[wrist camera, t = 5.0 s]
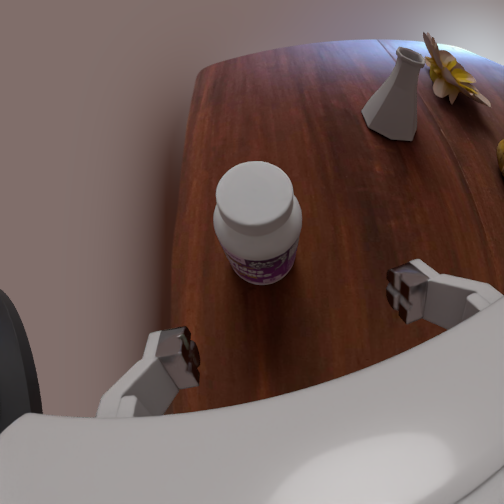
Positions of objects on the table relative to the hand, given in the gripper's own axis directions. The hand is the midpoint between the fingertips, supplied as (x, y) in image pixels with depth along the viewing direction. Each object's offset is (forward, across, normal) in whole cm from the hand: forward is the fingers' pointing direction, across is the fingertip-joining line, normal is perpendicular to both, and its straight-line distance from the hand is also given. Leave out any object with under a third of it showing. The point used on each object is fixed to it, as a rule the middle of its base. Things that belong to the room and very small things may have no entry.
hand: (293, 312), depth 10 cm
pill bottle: (+12, 0, +3) cm, 13 cm away
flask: (+21, -19, -5) cm, 29 cm away
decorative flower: (+26, -36, -10) cm, 45 cm away
